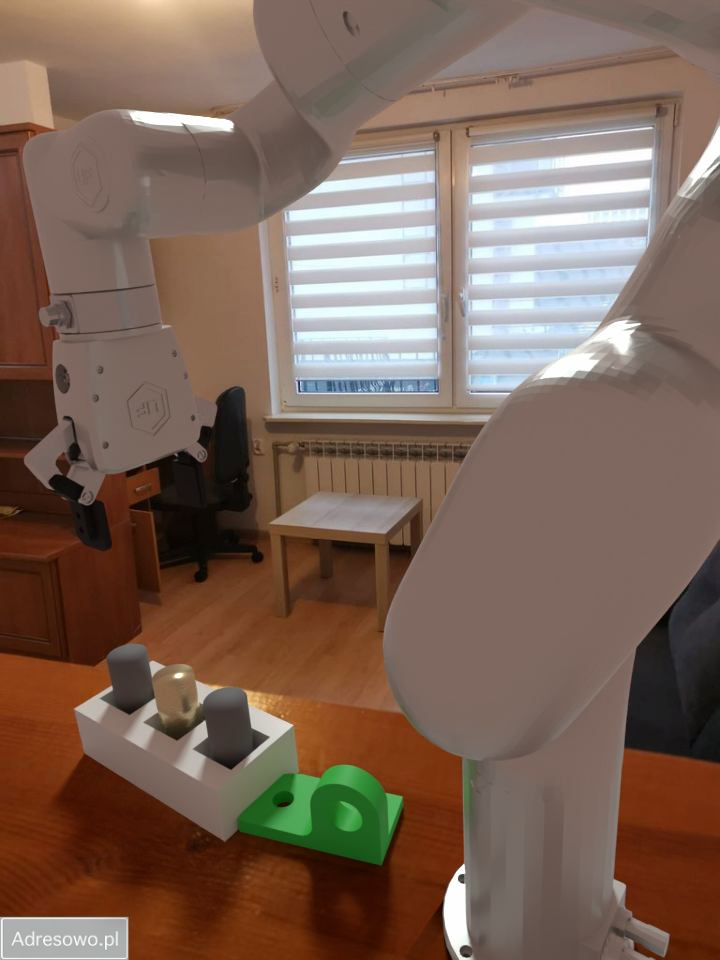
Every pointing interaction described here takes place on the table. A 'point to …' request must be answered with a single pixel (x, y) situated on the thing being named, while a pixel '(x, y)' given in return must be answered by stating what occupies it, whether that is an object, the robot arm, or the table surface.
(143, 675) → the far knob
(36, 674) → the table surface
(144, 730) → the white peg holder block
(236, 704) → the near knob
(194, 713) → the brass knob
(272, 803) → the mechanical part
